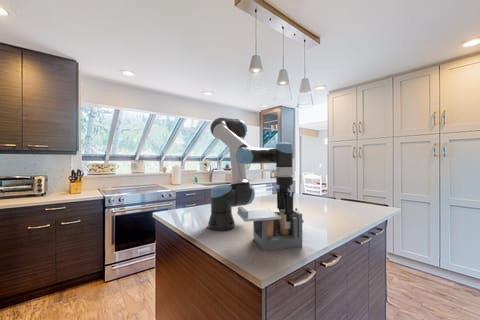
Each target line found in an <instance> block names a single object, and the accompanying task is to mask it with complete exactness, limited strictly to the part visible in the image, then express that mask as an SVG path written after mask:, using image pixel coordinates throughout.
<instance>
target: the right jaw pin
mask: <svg viewBox="0 0 480 320" xmlns="http://www.w3.org/2000/svg"><path fill="white" fill-rule="evenodd" d="M284 213H285V209H280V216H281V219H280V235H281V236H285V235H290V228H289V229H284Z"/></svg>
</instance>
